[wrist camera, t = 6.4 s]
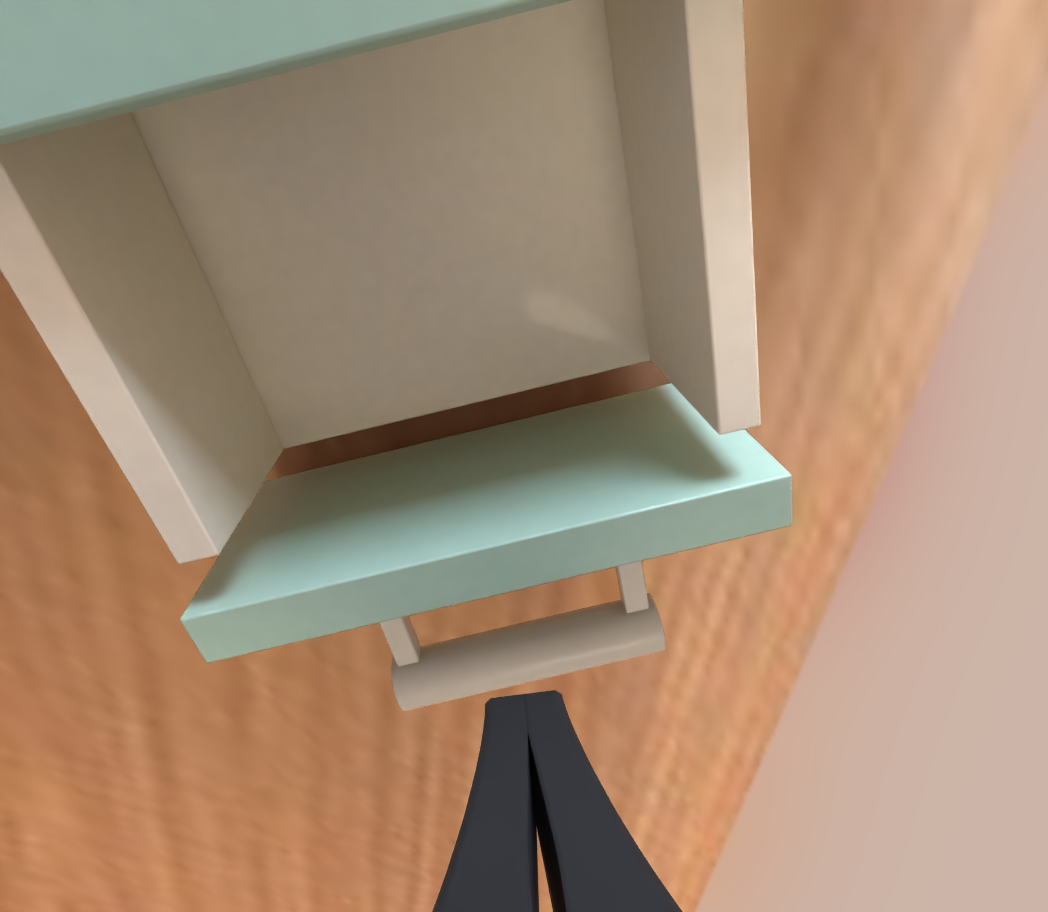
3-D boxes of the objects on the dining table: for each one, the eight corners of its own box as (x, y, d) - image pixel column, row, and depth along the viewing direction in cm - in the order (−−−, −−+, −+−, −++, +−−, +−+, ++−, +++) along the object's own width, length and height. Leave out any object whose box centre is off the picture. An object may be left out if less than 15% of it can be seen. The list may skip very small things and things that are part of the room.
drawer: (708, 552, 19) (796, 692, 14) (340, 638, 19) (297, 807, 14) (631, -244, 11) (774, -586, 6) (-6, -79, 11) (-393, -274, 6)
